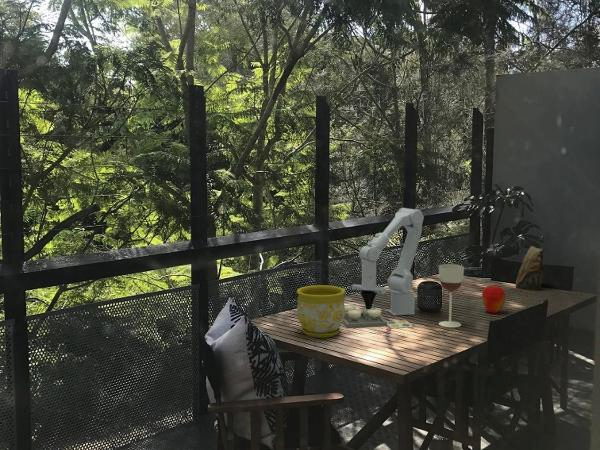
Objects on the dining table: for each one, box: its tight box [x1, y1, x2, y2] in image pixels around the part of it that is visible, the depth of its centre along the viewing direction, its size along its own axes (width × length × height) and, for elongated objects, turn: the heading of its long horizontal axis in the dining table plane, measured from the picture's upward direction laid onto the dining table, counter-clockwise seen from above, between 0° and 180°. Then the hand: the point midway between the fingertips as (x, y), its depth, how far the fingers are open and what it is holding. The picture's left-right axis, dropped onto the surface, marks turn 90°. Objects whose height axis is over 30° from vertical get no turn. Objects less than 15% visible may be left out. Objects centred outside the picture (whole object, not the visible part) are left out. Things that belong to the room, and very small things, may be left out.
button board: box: [342, 311, 388, 329], centre depth 254 cm, size 16×16×2 cm
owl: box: [515, 245, 545, 292], centre depth 311 cm, size 13×13×20 cm
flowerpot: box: [296, 284, 346, 339], centre depth 238 cm, size 18×18×16 cm
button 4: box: [368, 308, 382, 319], centre depth 250 cm, size 5×5×4 cm
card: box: [385, 320, 414, 329], centre depth 249 cm, size 9×9×1 cm
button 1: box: [344, 304, 357, 313], centre depth 257 cm, size 5×5×4 cm
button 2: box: [348, 309, 362, 320], centre depth 249 cm, size 5×5×4 cm
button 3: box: [362, 306, 376, 315], centre depth 258 cm, size 5×5×4 cm
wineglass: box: [438, 263, 465, 328], centre depth 248 cm, size 9×10×23 cm
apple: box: [481, 285, 506, 314], centre depth 267 cm, size 9×9×12 cm
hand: (368, 308), depth 258 cm, fingers closed, pressing on button 3
